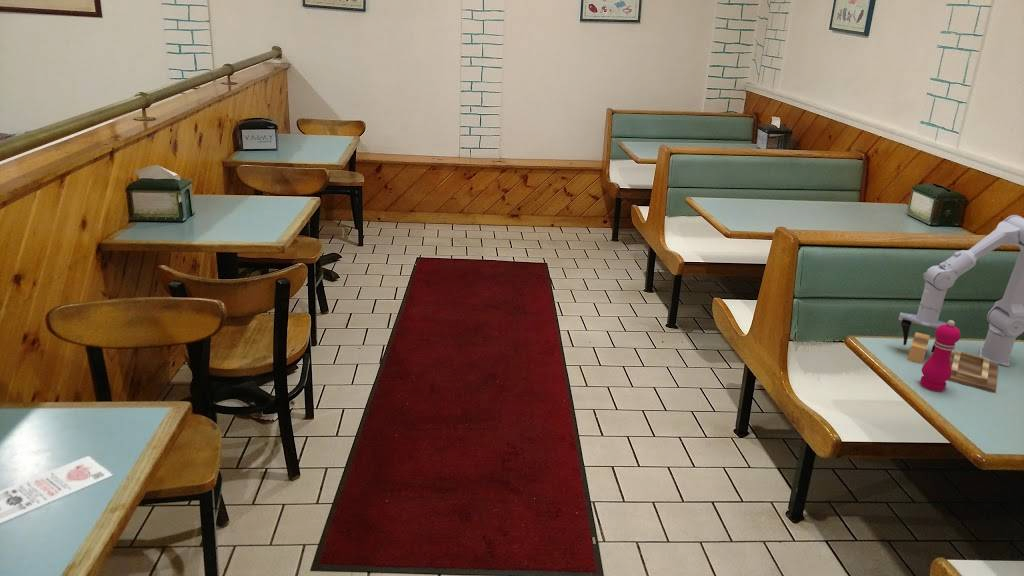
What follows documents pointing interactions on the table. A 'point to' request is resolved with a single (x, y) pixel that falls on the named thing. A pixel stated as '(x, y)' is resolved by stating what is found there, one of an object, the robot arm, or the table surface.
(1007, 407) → the table surface
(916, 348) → the tan block
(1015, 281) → the robot arm
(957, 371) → the jig
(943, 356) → the pepper mill
